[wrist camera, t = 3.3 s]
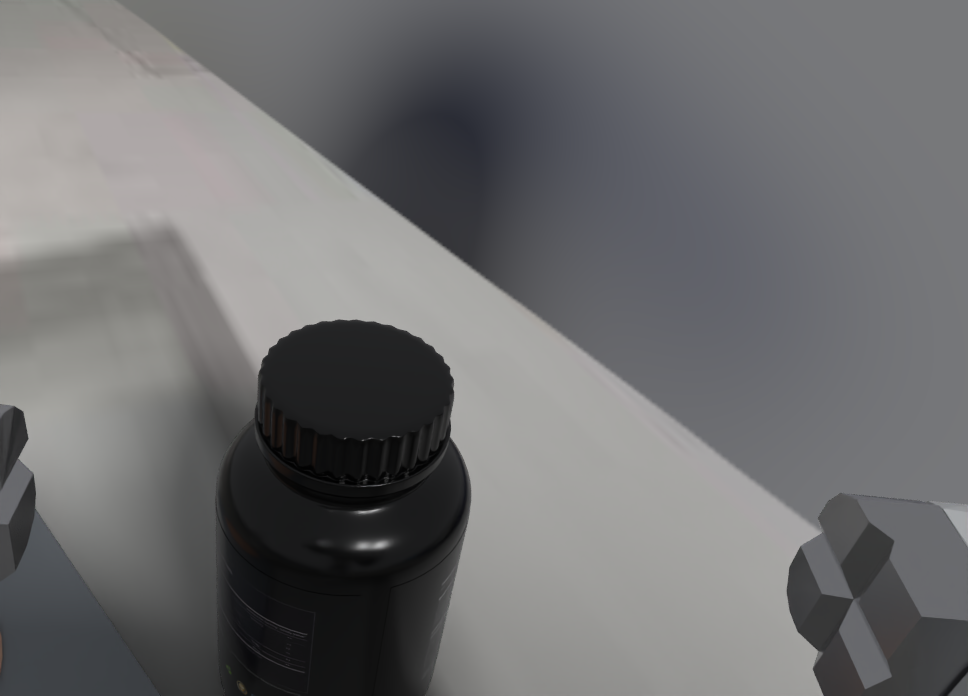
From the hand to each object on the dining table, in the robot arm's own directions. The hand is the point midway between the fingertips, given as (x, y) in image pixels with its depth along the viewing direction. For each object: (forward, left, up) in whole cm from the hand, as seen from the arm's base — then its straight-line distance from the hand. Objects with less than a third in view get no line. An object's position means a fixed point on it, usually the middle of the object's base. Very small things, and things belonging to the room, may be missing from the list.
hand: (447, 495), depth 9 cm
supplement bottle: (+6, +9, -19) cm, 22 cm away
